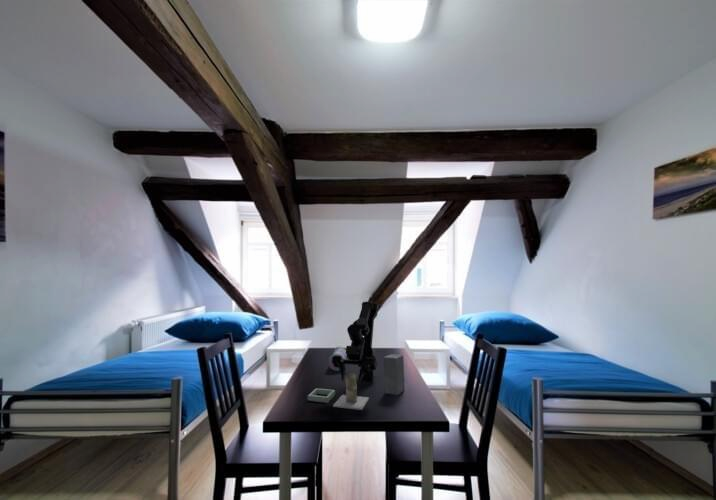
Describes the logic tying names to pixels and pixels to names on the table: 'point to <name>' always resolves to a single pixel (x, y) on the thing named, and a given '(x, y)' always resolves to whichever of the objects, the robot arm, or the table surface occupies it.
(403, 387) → the skincare box
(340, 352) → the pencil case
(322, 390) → the green collar
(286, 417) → the table surface
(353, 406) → the rubber mat
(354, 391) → the ash peg
